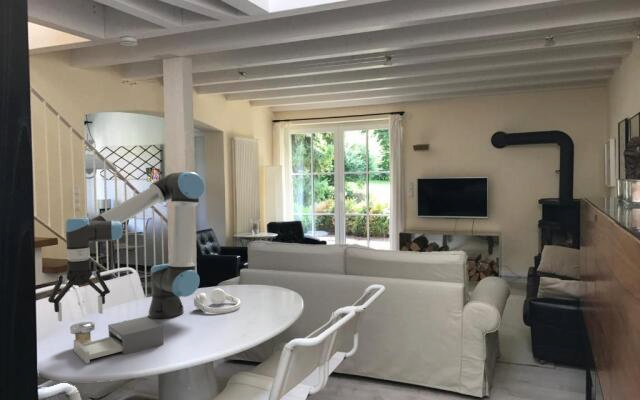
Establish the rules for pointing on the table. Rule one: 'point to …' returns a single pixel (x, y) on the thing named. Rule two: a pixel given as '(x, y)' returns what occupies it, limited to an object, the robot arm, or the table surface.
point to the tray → (97, 348)
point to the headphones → (216, 301)
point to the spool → (83, 337)
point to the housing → (137, 334)
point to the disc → (82, 327)
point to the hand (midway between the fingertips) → (80, 316)
